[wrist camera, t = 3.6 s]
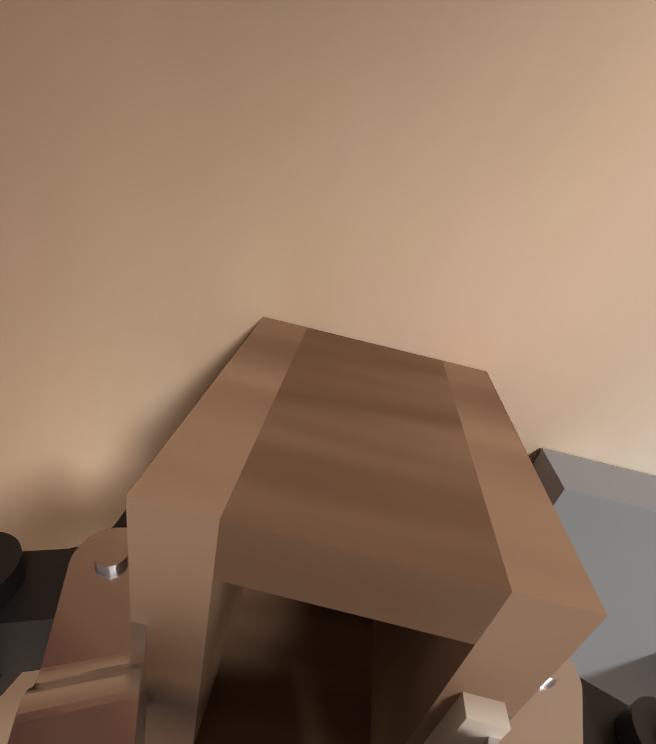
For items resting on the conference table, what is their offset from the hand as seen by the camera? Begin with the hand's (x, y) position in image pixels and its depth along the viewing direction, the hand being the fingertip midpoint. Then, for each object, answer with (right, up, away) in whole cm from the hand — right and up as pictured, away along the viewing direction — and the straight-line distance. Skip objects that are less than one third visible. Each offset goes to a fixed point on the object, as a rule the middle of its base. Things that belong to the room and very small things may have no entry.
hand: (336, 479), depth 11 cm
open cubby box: (0, 0, +1) cm, 1 cm away
